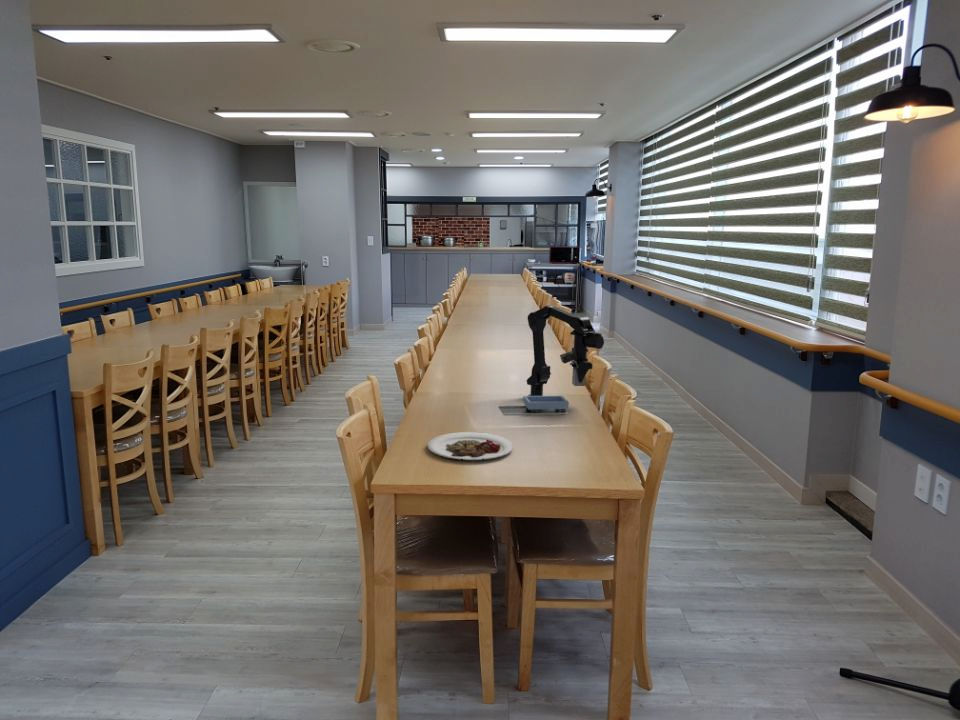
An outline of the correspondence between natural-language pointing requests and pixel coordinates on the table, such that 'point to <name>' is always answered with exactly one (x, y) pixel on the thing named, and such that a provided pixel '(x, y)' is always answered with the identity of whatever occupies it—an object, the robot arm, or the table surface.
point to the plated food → (470, 446)
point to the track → (528, 411)
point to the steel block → (575, 379)
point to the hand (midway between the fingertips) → (578, 381)
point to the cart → (545, 402)
